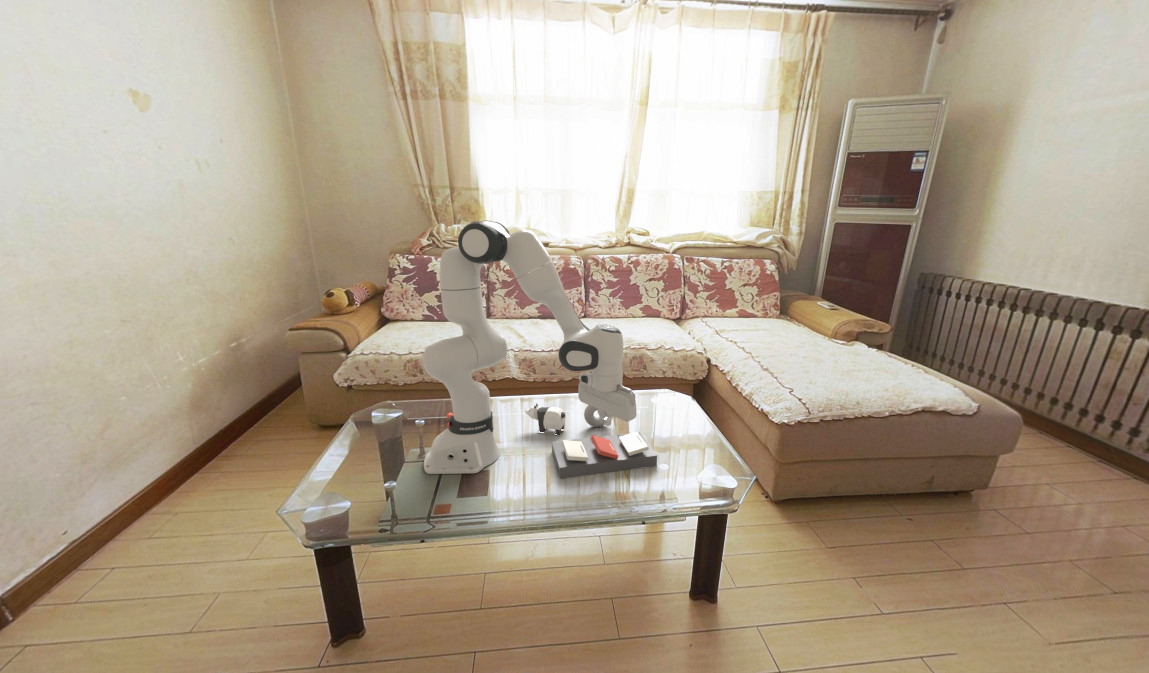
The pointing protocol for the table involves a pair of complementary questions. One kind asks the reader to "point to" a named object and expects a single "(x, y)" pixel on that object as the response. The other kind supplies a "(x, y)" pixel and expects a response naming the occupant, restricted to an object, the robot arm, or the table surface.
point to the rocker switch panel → (601, 458)
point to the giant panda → (548, 417)
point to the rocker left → (574, 450)
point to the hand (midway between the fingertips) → (605, 424)
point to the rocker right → (633, 443)
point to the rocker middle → (604, 447)
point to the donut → (592, 416)
